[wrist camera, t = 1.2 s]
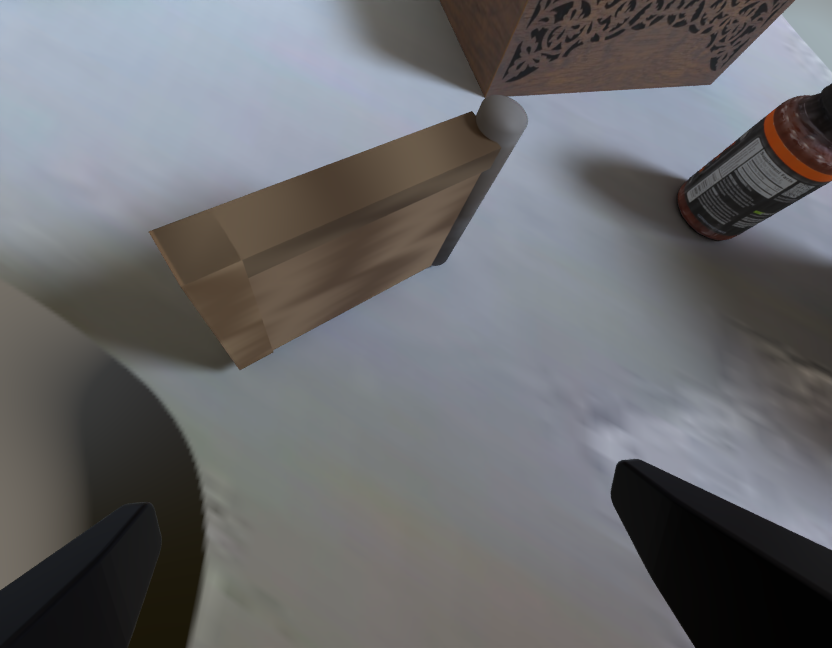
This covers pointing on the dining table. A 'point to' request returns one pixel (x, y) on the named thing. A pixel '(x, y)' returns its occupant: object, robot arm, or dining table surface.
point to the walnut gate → (337, 231)
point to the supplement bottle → (763, 169)
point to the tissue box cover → (604, 42)
